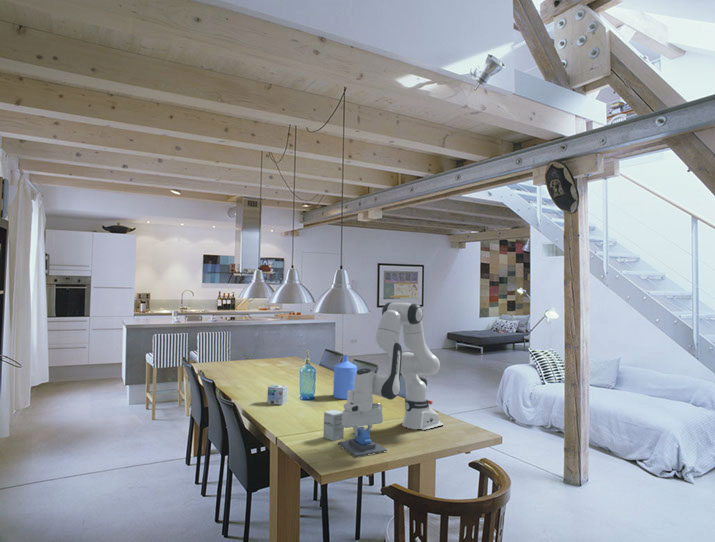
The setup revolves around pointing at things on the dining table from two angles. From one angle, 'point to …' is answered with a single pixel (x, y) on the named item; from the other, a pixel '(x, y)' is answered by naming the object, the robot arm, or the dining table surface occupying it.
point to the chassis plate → (361, 447)
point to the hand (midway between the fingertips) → (362, 435)
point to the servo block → (363, 436)
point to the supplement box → (333, 425)
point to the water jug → (343, 378)
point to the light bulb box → (277, 394)
